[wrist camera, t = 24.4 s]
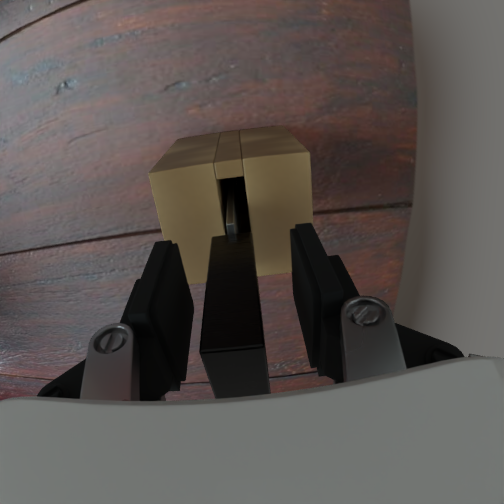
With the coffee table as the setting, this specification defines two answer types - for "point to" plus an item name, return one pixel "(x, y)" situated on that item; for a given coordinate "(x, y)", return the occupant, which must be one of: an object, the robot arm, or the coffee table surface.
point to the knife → (233, 312)
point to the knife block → (216, 194)
